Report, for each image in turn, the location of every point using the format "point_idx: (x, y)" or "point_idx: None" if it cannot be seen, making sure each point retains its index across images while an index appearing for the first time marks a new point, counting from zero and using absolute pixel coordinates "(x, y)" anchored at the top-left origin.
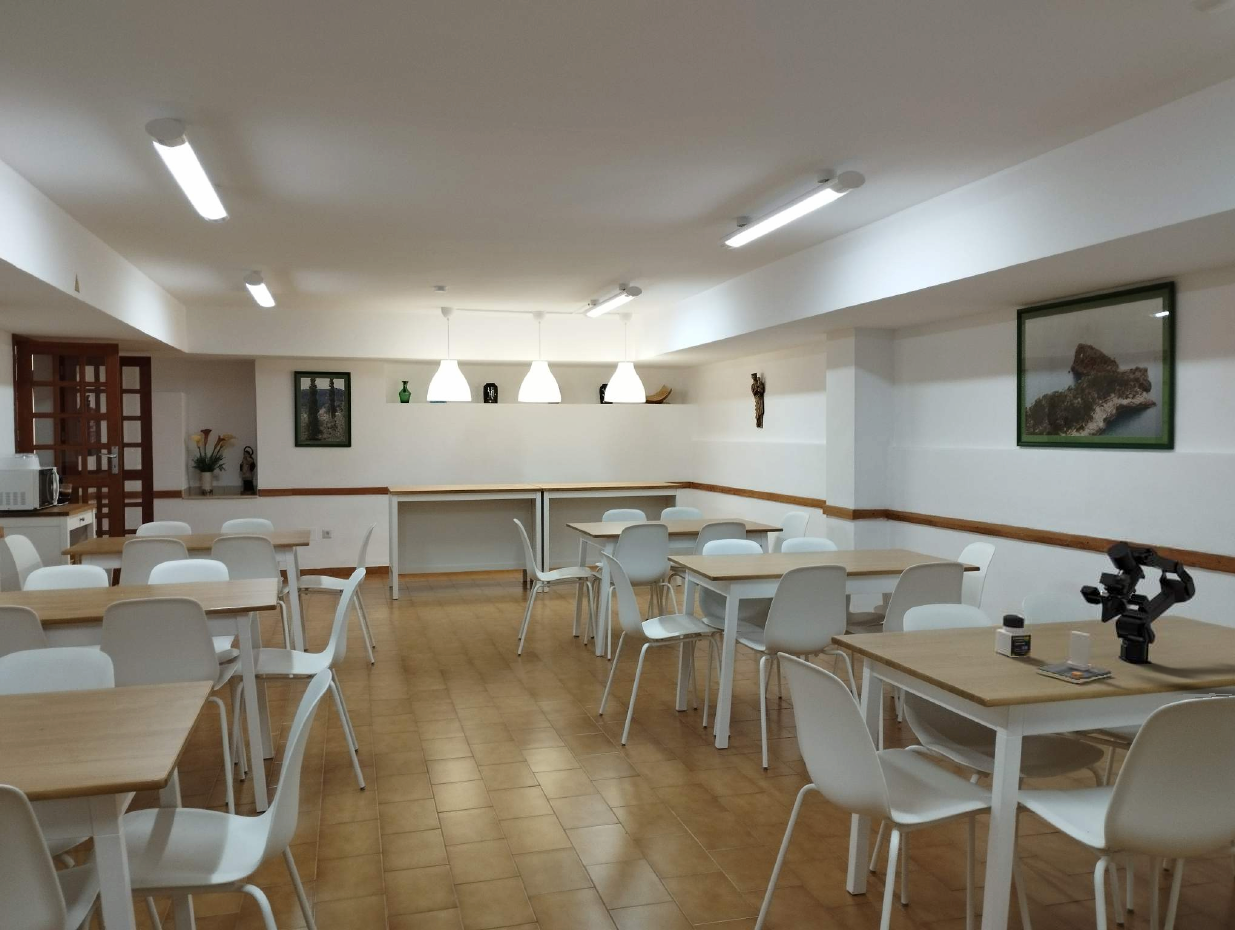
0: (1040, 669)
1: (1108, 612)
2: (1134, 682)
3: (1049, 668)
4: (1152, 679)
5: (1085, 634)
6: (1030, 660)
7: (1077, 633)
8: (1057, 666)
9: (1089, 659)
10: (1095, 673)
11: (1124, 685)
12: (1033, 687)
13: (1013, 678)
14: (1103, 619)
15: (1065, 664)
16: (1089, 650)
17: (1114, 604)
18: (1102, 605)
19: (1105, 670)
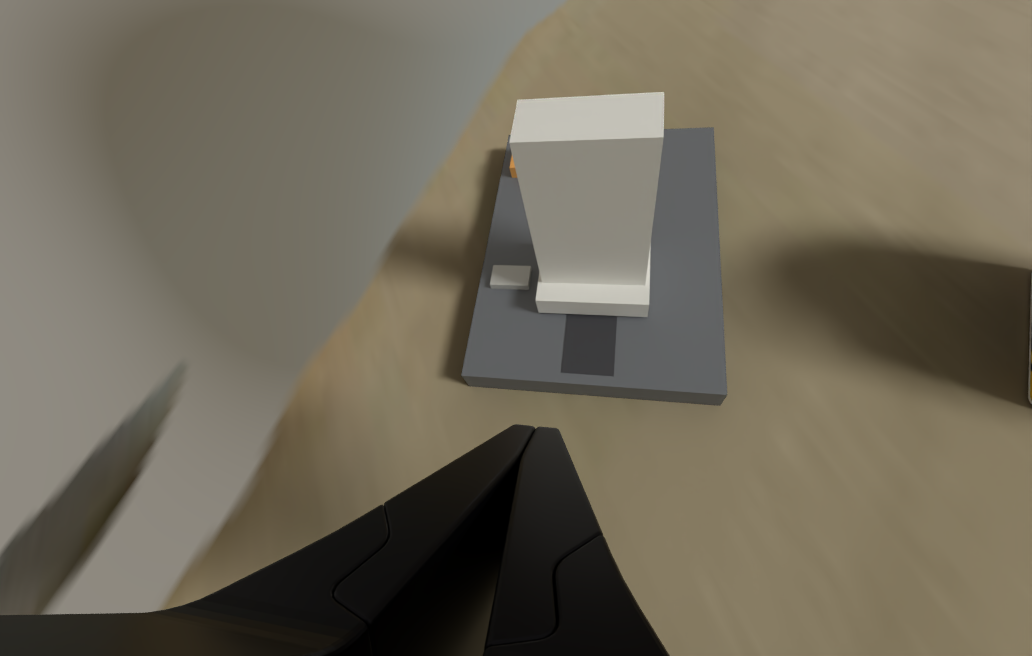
0: (690, 130)
1: (442, 491)
2: (353, 376)
3: (674, 164)
4: (294, 522)
5: (535, 114)
6: (933, 323)
7: (594, 96)
8: (678, 223)
9: (537, 262)
10: (494, 262)
11: (375, 291)
12: (589, 21)
13: (702, 37)
14: (524, 431)
15: (681, 290)
16: (529, 224)
17: (211, 622)
18: (637, 626)
19: (484, 358)
